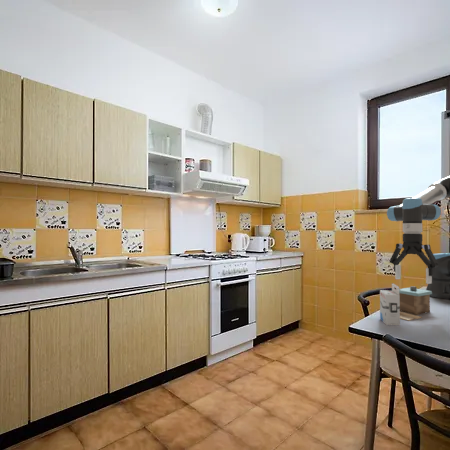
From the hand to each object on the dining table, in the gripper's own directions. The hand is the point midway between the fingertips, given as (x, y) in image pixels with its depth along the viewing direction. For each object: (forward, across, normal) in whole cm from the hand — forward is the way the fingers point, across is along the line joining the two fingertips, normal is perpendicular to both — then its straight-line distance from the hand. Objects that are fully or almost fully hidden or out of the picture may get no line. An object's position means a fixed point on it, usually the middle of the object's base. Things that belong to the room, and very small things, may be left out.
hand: (412, 281), depth 136 cm
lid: (+6, 0, 0) cm, 6 cm away
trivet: (+13, +3, -11) cm, 18 cm away
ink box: (+14, +5, -23) cm, 28 cm away
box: (+13, 0, 0) cm, 13 cm away
